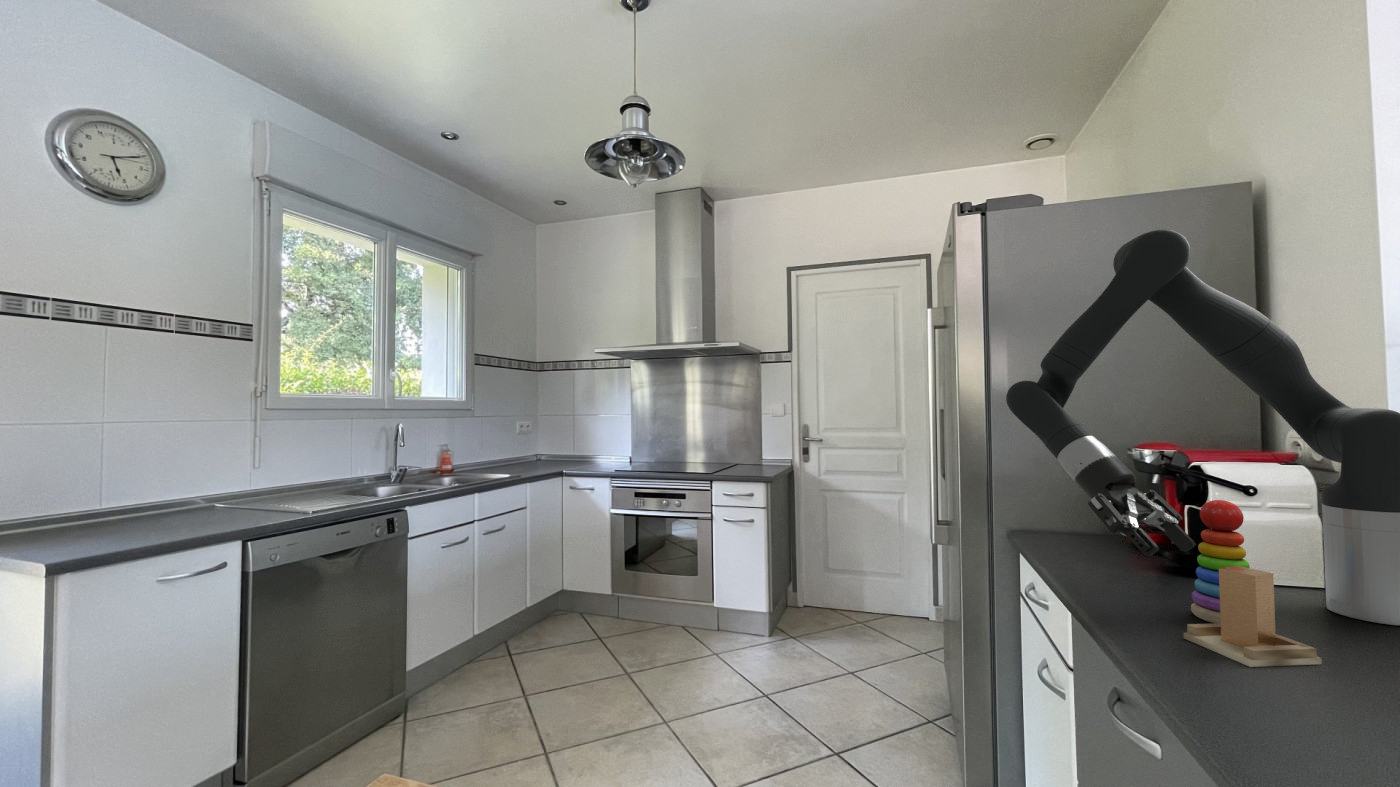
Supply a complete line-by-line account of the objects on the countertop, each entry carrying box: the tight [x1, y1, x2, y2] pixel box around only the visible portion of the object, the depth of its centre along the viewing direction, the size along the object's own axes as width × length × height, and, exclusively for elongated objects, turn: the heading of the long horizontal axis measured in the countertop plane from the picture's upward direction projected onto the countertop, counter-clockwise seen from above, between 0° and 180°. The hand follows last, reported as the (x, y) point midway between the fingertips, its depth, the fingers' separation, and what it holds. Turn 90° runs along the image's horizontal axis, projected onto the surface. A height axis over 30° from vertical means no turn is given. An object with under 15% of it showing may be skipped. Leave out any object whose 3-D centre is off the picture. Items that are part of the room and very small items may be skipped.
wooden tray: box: [1183, 623, 1322, 668], centre depth 76 cm, size 10×9×2 cm
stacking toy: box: [1190, 499, 1251, 624], centre depth 87 cm, size 8×8×19 cm
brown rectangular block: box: [1219, 566, 1277, 647], centre depth 76 cm, size 4×4×10 cm
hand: (1172, 550), depth 84 cm, fingers open, 8 cm apart
